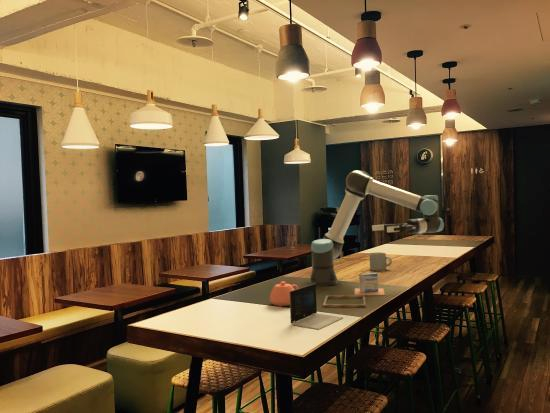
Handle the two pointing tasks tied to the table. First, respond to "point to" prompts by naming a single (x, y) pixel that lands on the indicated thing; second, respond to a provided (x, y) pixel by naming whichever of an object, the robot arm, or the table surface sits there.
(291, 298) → the laptop
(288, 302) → the sugar bowl
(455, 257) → the table surface
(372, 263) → the coffee mug
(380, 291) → the terracotta mat
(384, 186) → the robot arm
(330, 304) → the walnut frame
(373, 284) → the medicine box
